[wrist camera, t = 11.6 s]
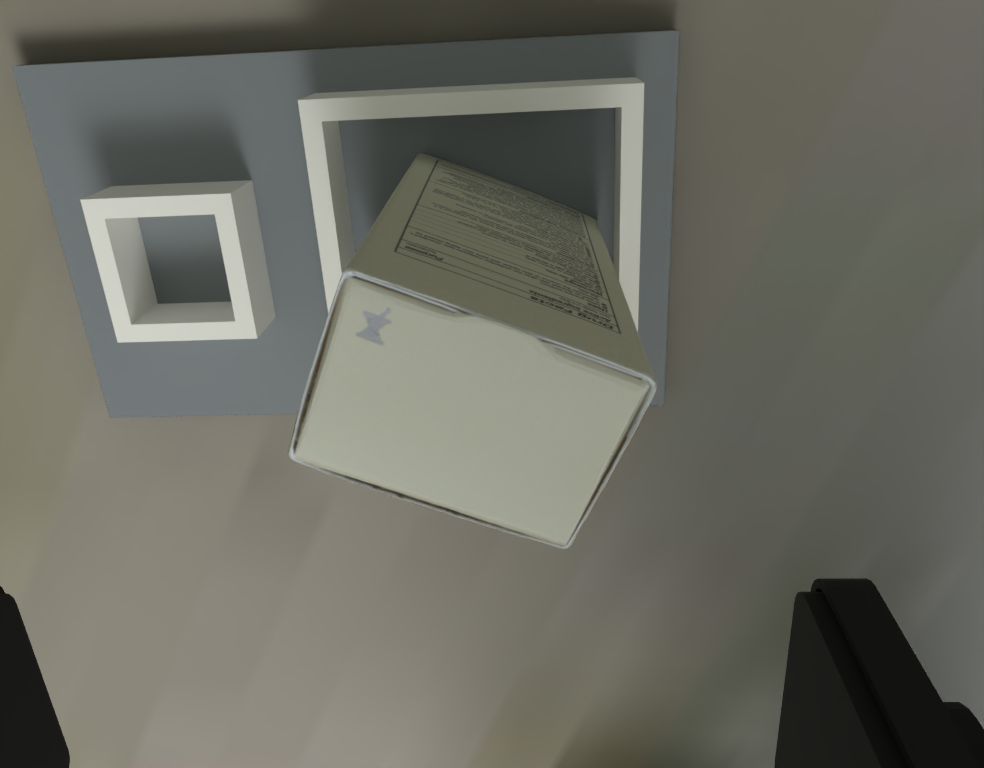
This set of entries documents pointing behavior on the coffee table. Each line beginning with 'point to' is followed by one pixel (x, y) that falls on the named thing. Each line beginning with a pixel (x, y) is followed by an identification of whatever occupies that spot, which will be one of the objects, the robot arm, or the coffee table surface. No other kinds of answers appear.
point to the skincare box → (477, 358)
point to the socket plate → (323, 189)
